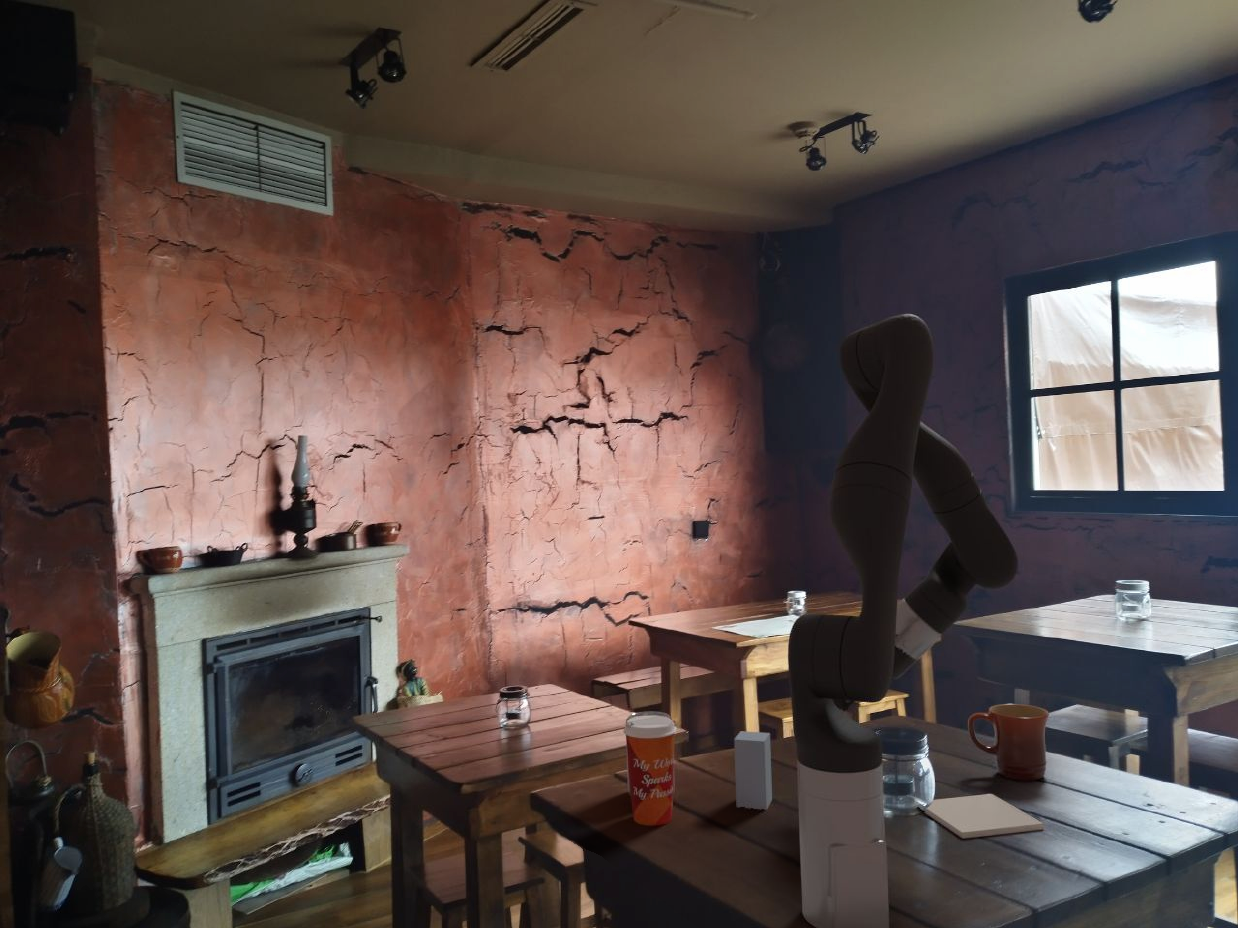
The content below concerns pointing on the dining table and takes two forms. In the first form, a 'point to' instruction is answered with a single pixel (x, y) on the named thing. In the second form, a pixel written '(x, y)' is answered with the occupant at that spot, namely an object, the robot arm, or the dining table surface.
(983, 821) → the tile
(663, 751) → the paper cup
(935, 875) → the dining table surface
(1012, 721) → the mug
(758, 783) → the block
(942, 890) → the dining table surface
